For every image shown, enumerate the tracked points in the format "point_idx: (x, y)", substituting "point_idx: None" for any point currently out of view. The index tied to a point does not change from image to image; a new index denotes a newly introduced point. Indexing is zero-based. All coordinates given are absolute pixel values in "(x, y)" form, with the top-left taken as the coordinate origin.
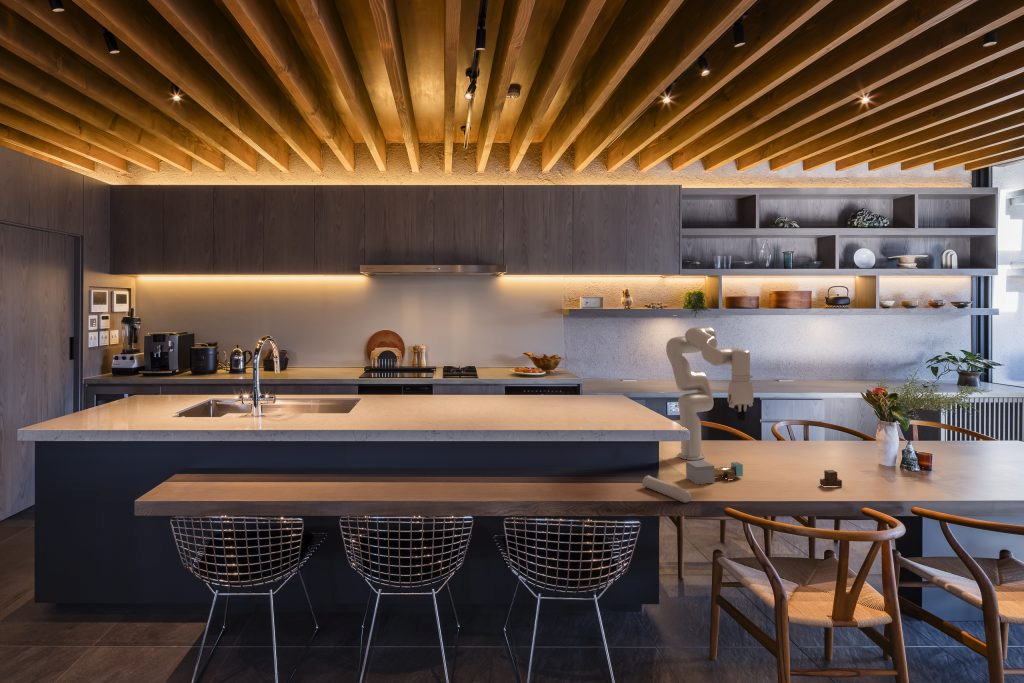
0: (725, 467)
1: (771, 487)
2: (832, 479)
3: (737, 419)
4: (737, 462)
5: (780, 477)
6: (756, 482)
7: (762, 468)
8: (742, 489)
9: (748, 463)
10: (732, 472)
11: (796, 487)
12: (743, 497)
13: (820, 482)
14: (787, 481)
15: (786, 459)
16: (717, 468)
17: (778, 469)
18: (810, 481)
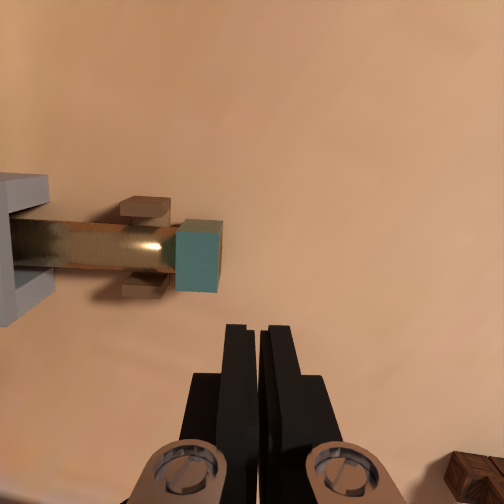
0: (149, 216)
1: None
2: None
3: (226, 326)
4: (214, 242)
5: (394, 308)
6: None
7: (428, 137)
8: (131, 402)
9: (432, 4)
10: (148, 295)
11: (352, 443)
12: (83, 482)
13: (459, 464)
14: (378, 368)
15: None
16: (76, 252)
17: (488, 185)
18: (464, 397)
